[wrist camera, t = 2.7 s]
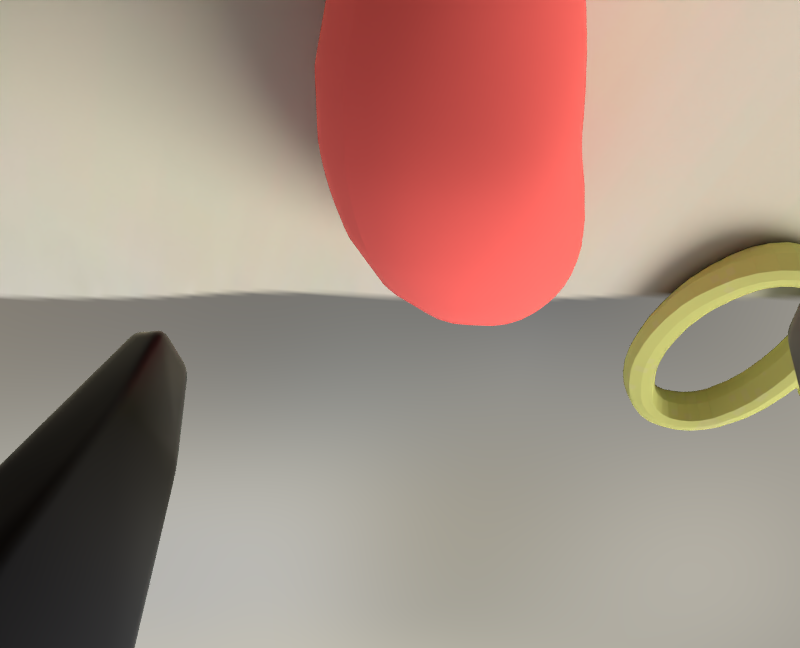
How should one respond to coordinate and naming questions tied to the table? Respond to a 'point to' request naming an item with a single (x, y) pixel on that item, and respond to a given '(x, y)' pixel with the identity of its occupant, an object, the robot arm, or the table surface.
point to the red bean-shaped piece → (457, 147)
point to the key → (686, 307)
